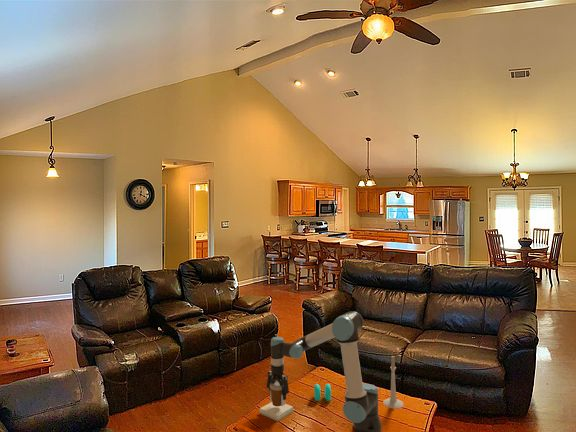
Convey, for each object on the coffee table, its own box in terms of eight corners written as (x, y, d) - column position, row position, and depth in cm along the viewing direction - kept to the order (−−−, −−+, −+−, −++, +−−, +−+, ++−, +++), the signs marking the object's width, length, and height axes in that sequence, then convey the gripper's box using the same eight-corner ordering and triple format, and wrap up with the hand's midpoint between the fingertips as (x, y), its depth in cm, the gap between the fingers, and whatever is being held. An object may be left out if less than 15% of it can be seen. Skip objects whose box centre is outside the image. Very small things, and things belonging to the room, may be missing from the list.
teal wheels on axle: (331, 404, 251) (331, 387, 251) (315, 404, 251) (314, 387, 251) (330, 396, 261) (329, 381, 261) (314, 396, 261) (314, 381, 261)
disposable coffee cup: (284, 408, 234) (283, 387, 234) (268, 407, 236) (267, 386, 236) (287, 400, 244) (287, 380, 244) (271, 399, 246) (271, 379, 246)
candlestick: (387, 398, 258) (386, 350, 258) (407, 403, 251) (406, 354, 250) (379, 406, 248) (379, 356, 247) (400, 411, 240) (399, 361, 240)
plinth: (293, 411, 242) (293, 406, 242) (277, 421, 231) (277, 416, 231) (275, 404, 251) (275, 399, 251) (259, 413, 240) (259, 408, 240)
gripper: (295, 366, 236) (295, 405, 236) (268, 358, 249) (269, 395, 250) (286, 370, 230) (287, 410, 230) (260, 361, 244) (260, 399, 244)
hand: (277, 402), depth 240 cm, fingers closed on disposable coffee cup, 8 cm apart
